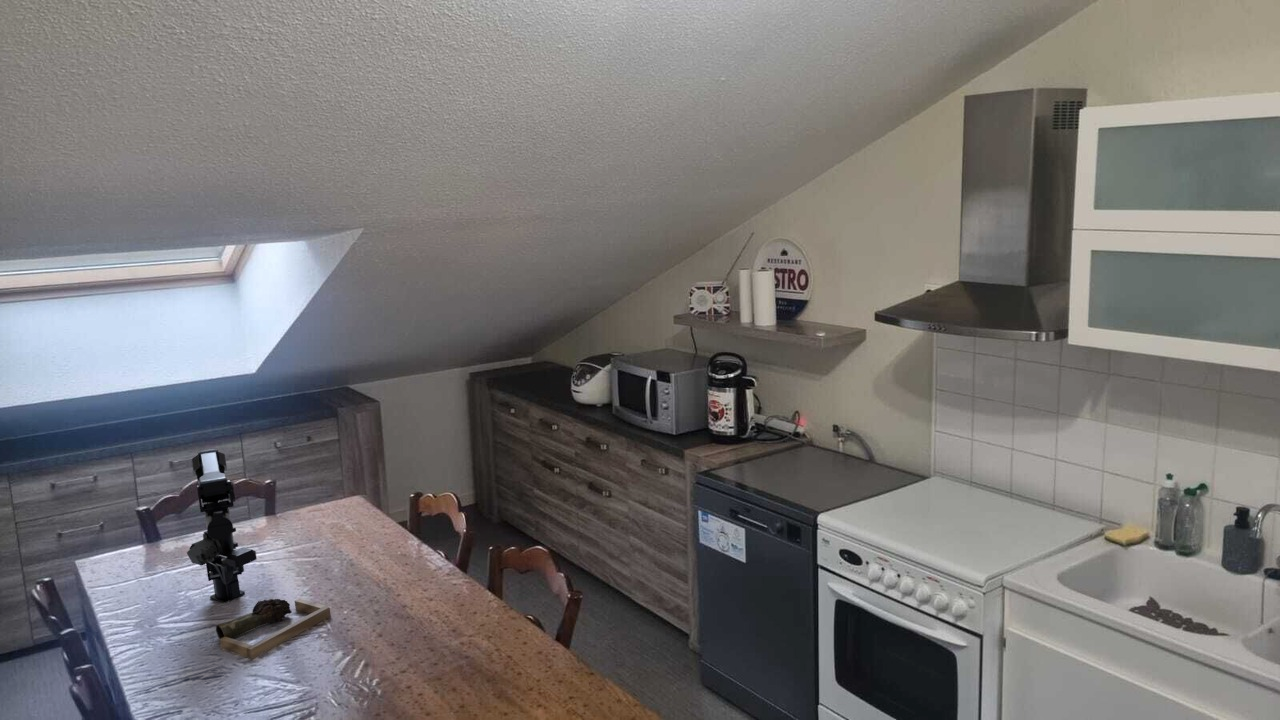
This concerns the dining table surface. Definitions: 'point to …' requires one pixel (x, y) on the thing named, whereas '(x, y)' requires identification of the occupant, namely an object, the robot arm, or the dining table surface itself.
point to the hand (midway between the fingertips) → (226, 583)
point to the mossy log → (255, 618)
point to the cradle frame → (252, 651)
